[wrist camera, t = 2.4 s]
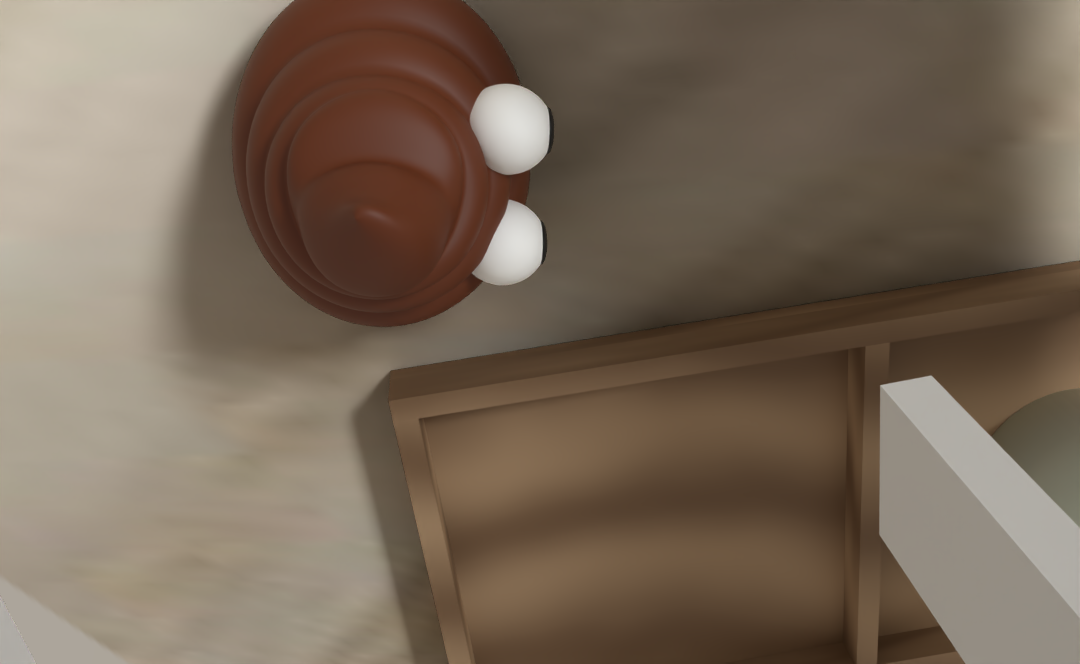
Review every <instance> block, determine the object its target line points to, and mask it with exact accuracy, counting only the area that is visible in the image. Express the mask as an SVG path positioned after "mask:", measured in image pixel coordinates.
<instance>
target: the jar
mask: <svg viewBox="0 0 1080 664" xmlns="http://www.w3.org/2000/svg"><path fill="white" fill-rule="evenodd" d="M991 437H992V438H993V439H994V440H995V441H996V442H997V443H998V444H999V445H1000V446H1001V447H1002V449H1003V450H1004V451H1005V452H1006V453H1007V454H1008V455H1009V456H1010V457H1011V458H1012V459H1013V460H1014V461H1015V462H1016V463H1017V464H1018V465H1019V466H1020V467H1021V468H1022V469H1023V470H1024V471H1025V472H1026V473H1027V474H1028V475H1029V476H1030V477H1031V478H1032V479H1033V480H1034V481H1035V482H1036V483H1037V484H1038V486H1039V487H1040V488H1041V489H1042V490H1043V491H1044V492H1045V493H1046V494H1047V495H1048V496H1049V497H1050V498H1051V499H1052V500H1053V501H1054V502H1055V503H1056V504H1057V505H1058V506H1059V507H1060V508H1061V509H1062V510H1063V511H1064V512H1065V513H1066V514H1067V515H1068V516H1069V517H1070V518H1071V519H1072V520H1073V522H1074V523H1075V524H1076V525H1077V526H1078V527H1079V528H1080V388H1076V389H1068V390H1063V391H1059V392H1055V393H1052V394H1049V395H1046V396H1044V397H1042V398H1039V399H1037V400H1035V401H1033V402H1031V403H1030V404H1028V405H1026V406H1024V407H1023V408H1021V409H1020V410H1018V411H1017V412H1016V413H1014V414H1013V415H1012V416H1011V417H1009V418H1008V419H1007V420H1006V421H1005V422H1004V423H1003V424H1002V425H1001V426H1000V427H999V428H998V429H997V430H996V431H995V433H994V434H993V435H992V436H991Z"/></svg>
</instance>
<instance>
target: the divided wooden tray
mask: <svg viewBox="0 0 1080 664" xmlns="http://www.w3.org/2000/svg"><path fill="white" fill-rule="evenodd" d="M926 376H932V377H933V378H934V379H935V380H936V381H937V382H938V383H939V384H940V385H941V386H942V387H943V388H944V389H945V390H946V391H947V392H948V393H949V394H950V395H951V396H952V397H953V398H954V399H955V400H956V401H957V402H958V403H959V404H960V405H961V406H962V407H963V408H964V409H965V410H966V411H967V413H968V414H969V415H970V416H971V417H972V418H973V419H974V420H975V421H976V422H977V423H978V424H979V425H980V426H981V427H982V428H983V429H984V430H985V431H986V432H987V433H988V434H989V435H990V436H992V435H993V434H994V433H995V431H996V430H997V429H998V428H999V427H1000V426H1001V425H1002V424H1003V423H1004V422H1005V421H1006V420H1007V419H1008V418H1009V417H1011V416H1012V415H1013V414H1014V413H1016V412H1017V411H1018V410H1020V409H1021V408H1023V407H1024V406H1026V405H1028V404H1030V403H1031V402H1033V401H1035V400H1037V399H1039V398H1042V397H1044V396H1046V395H1049V394H1052V393H1055V392H1059V391H1063V390H1068V389H1076V388H1080V261H1074V262H1068V263H1062V264H1055V265H1049V266H1043V267H1037V268H1030V269H1024V270H1018V271H1012V272H1005V273H999V274H993V275H987V276H980V277H974V278H968V279H961V280H955V281H949V282H943V283H936V284H930V285H924V286H918V287H911V288H905V289H899V290H893V291H886V292H880V293H874V294H868V295H861V296H855V297H849V298H843V299H836V300H830V301H824V302H818V303H811V304H805V305H799V306H793V307H786V308H780V309H774V310H767V311H761V312H755V313H749V314H742V315H736V316H730V317H724V318H717V319H711V320H705V321H699V322H692V323H686V324H680V325H674V326H667V327H661V328H655V329H649V330H642V331H636V332H630V333H624V334H617V335H611V336H605V337H599V338H592V339H586V340H580V341H573V342H567V343H561V344H555V345H548V346H542V347H536V348H530V349H523V350H517V351H511V352H505V353H498V354H492V355H486V356H480V357H473V358H467V359H461V360H455V361H448V362H442V363H436V364H430V365H423V366H417V367H411V368H405V369H398V370H392V371H391V372H390V384H389V396H388V403H389V407H390V411H391V416H392V420H393V424H394V429H395V433H396V437H397V442H398V446H399V450H400V455H401V459H402V463H403V468H404V472H405V476H406V481H407V485H408V489H409V494H410V498H411V502H412V507H413V511H414V515H415V520H416V524H417V528H418V533H419V537H420V541H421V546H422V550H423V554H424V559H425V563H426V567H427V572H428V576H429V580H430V585H431V589H432V593H433V598H434V602H435V606H436V611H437V615H438V619H439V624H440V628H441V632H442V637H443V641H444V645H445V650H446V654H447V658H448V663H449V664H965V662H964V661H963V659H962V658H961V656H960V655H959V653H958V652H957V650H956V649H955V647H954V646H953V644H952V643H951V641H950V640H949V638H948V637H947V635H946V634H945V632H944V631H943V629H942V628H941V626H940V625H939V623H938V622H937V620H936V619H935V617H934V616H933V614H932V613H931V611H930V610H929V608H928V607H927V605H926V604H925V602H924V601H923V599H922V598H921V596H920V595H919V593H918V592H917V590H916V589H915V587H914V586H913V584H912V583H911V581H910V580H909V578H908V577H907V575H906V574H905V572H904V571H903V569H902V568H901V566H900V565H899V563H898V562H897V560H896V559H895V557H894V556H893V554H892V553H891V551H890V550H889V548H888V547H887V545H886V544H885V542H884V541H883V539H882V538H881V536H880V535H879V504H880V385H884V384H889V383H895V382H900V381H905V380H911V379H916V378H921V377H926Z"/></svg>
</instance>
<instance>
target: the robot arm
mask: <svg viewBox="0 0 1080 664" xmlns="http://www.w3.org/2000/svg"><path fill="white" fill-rule="evenodd" d="M879 535H880V536H881V538H882V539H883V541H884V542H885V544H886V545H887V547H888V548H889V550H890V551H891V553H892V554H893V556H894V557H895V559H896V560H897V562H898V563H899V565H900V566H901V568H902V569H903V571H904V572H905V574H906V575H907V577H908V578H909V580H910V581H911V583H912V584H913V586H914V587H915V589H916V590H917V592H918V593H919V595H920V596H921V598H922V599H923V601H924V602H925V604H926V605H927V607H928V608H929V610H930V611H931V613H932V614H933V616H934V617H935V619H936V620H937V622H938V623H939V625H940V626H941V628H942V629H943V631H944V632H945V634H946V635H947V637H948V638H949V640H950V641H951V643H952V644H953V646H954V647H955V649H956V650H957V652H958V653H959V655H960V656H961V658H962V659H963V661H964V662H965V664H1080V528H1079V527H1078V526H1077V525H1076V524H1075V523H1074V522H1073V520H1072V519H1071V518H1070V517H1069V516H1068V515H1067V514H1066V513H1065V512H1064V511H1063V510H1062V509H1061V508H1060V507H1059V506H1058V505H1057V504H1056V503H1055V502H1054V501H1053V500H1052V499H1051V498H1050V497H1049V496H1048V495H1047V494H1046V493H1045V492H1044V491H1043V490H1042V489H1041V488H1040V487H1039V486H1038V484H1037V483H1036V482H1035V481H1034V480H1033V479H1032V478H1031V477H1030V476H1029V475H1028V474H1027V473H1026V472H1025V471H1024V470H1023V469H1022V468H1021V467H1020V466H1019V465H1018V464H1017V463H1016V462H1015V461H1014V460H1013V459H1012V458H1011V457H1010V456H1009V455H1008V454H1007V453H1006V452H1005V451H1004V450H1003V449H1002V447H1001V446H1000V445H999V444H998V443H997V442H996V441H995V440H994V439H993V438H992V437H991V436H990V435H989V434H988V433H987V432H986V431H985V430H984V429H983V428H982V427H981V426H980V425H979V424H978V423H977V422H976V421H975V420H974V419H973V418H972V417H971V416H970V415H969V414H968V413H967V411H966V410H965V409H964V408H963V407H962V406H961V405H960V404H959V403H958V402H957V401H956V400H955V399H954V398H953V397H952V396H951V395H950V394H949V393H948V392H947V391H946V390H945V389H944V388H943V387H942V386H941V385H940V384H939V383H938V382H937V381H936V380H935V379H934V378H933V377H932V376H926V377H921V378H916V379H911V380H905V381H900V382H895V383H889V384H884V385H880V504H879ZM0 664H36V662H35V660H34V658H33V656H32V654H31V652H30V651H29V649H28V647H27V645H26V643H25V641H24V639H23V637H22V635H21V634H20V632H19V630H18V628H17V626H16V624H15V623H14V620H13V618H12V617H11V615H10V613H9V611H8V609H7V607H6V605H5V603H4V601H3V600H2V598H1V596H0Z"/></svg>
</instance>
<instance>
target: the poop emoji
mask: <svg viewBox="0 0 1080 664" xmlns="http://www.w3.org/2000/svg"><path fill="white" fill-rule="evenodd" d="M553 139H554V121H553V115H552V112H551V110H550V109H549V108H547V106H546V105H545V104H544V102H543V101H542V100H541V99H540V98H539V97H538V96H537V95H536V94H535V93H533V92H532V91H530V90H529V89H526V88H524V87H522V86H521V85H520V82H519V79H518V77H517V74H516V72H515V69H514V67H513V65H512V63H511V61H510V59H509V57H508V55H507V53H506V51H505V49H504V48H503V46H502V44H501V43H500V41H499V40H498V38H497V37H496V35H495V34H494V33H493V31H492V30H491V29H490V27H489V26H488V25H487V24H486V23H485V22H484V20H483V19H482V18H481V17H480V16H479V15H478V14H477V13H476V12H475V11H474V10H473V9H471V8H470V7H469V6H468V5H467V4H466V3H464V2H463V1H462V0H294V1H293V2H292V3H291V4H290V5H289V6H287V7H286V8H285V9H284V10H283V11H282V12H281V13H280V14H279V15H278V17H277V18H276V19H275V20H274V21H273V22H272V24H271V25H270V26H269V27H268V29H267V30H266V32H265V33H264V35H263V36H262V38H261V39H260V41H259V42H258V44H257V46H256V48H255V50H254V52H253V54H252V56H251V58H250V60H249V62H248V64H247V67H246V69H245V72H244V75H243V78H242V81H241V84H240V87H239V91H238V95H237V100H236V104H235V110H234V118H233V128H232V157H233V169H234V177H235V183H236V188H237V192H238V196H239V200H240V203H241V206H242V209H243V213H244V216H245V218H246V221H247V224H248V226H249V228H250V231H251V233H252V235H253V237H254V239H255V241H256V243H257V245H258V247H259V249H260V251H261V252H262V254H263V255H264V257H265V259H266V260H267V261H268V263H269V264H270V266H271V267H272V268H273V270H274V271H275V272H276V273H277V275H278V276H279V277H280V278H281V279H282V280H283V281H284V282H285V283H286V284H287V285H288V286H289V287H290V288H291V289H292V290H293V291H294V292H295V293H296V294H298V295H299V296H300V297H301V298H303V299H304V300H305V301H307V302H308V303H310V304H311V305H313V306H314V307H316V308H318V309H319V310H321V311H323V312H325V313H327V314H329V315H331V316H334V317H336V318H339V319H341V320H344V321H348V322H351V323H355V324H360V325H366V326H377V327H391V326H401V325H407V324H412V323H416V322H419V321H423V320H426V319H428V318H431V317H433V316H436V315H438V314H440V313H442V312H444V311H446V310H448V309H449V308H451V307H453V306H454V305H456V304H457V303H459V302H460V301H461V300H463V299H464V298H465V297H467V296H468V295H469V294H470V293H471V292H473V291H474V290H475V289H476V288H477V287H478V286H479V285H480V284H481V283H482V282H483V281H484V282H487V283H490V284H494V285H511V284H515V283H518V282H521V281H523V280H525V279H526V278H528V277H529V276H531V275H532V274H533V273H534V272H535V271H536V270H537V269H538V267H539V266H540V265H541V264H543V262H544V260H545V257H546V252H547V234H546V229H545V225H544V223H543V222H542V221H540V220H539V218H538V217H537V216H536V214H535V213H534V212H533V211H531V210H530V209H529V208H528V207H526V206H525V203H526V199H527V194H528V189H529V181H530V169H531V168H533V167H534V166H535V165H537V164H538V163H539V162H540V161H541V160H542V159H543V158H544V156H545V155H546V154H548V153H549V152H550V150H551V148H552V144H553Z"/></svg>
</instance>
